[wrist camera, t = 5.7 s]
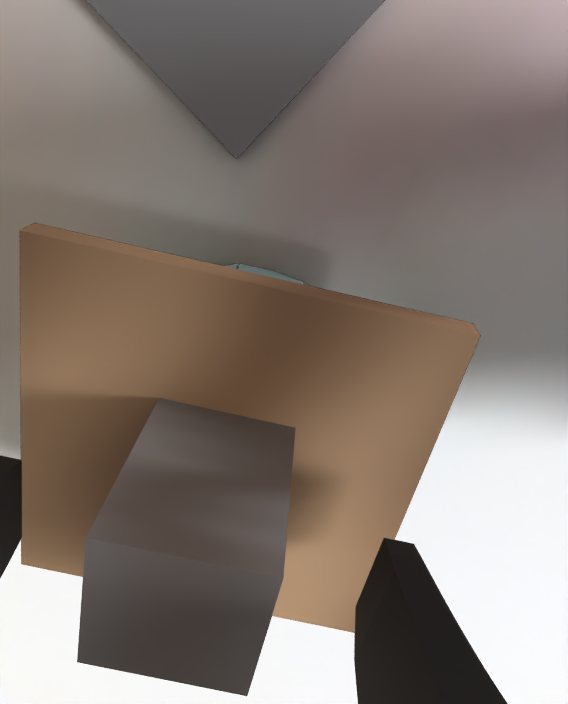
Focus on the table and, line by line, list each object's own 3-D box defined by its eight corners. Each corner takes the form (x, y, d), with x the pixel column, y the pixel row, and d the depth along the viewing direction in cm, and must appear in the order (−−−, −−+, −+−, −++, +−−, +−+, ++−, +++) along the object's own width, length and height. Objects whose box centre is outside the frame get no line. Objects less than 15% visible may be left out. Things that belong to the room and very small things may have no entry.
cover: (472, 323, 11) (562, 465, 7) (353, 613, 15) (365, 812, 11) (34, 222, 11) (-147, 309, 7) (32, 546, 15) (-82, 726, 11)
